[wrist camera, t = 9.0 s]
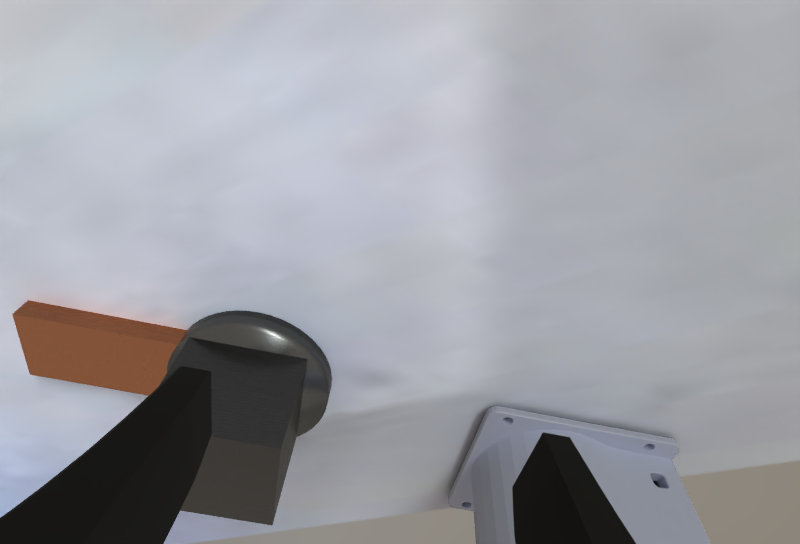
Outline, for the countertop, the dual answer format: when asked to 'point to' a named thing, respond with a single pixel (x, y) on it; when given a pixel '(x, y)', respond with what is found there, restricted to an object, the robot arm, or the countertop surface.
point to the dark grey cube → (245, 428)
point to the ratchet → (156, 349)
